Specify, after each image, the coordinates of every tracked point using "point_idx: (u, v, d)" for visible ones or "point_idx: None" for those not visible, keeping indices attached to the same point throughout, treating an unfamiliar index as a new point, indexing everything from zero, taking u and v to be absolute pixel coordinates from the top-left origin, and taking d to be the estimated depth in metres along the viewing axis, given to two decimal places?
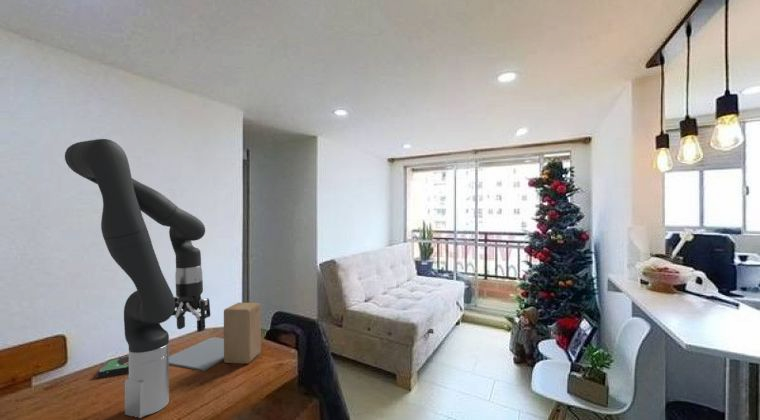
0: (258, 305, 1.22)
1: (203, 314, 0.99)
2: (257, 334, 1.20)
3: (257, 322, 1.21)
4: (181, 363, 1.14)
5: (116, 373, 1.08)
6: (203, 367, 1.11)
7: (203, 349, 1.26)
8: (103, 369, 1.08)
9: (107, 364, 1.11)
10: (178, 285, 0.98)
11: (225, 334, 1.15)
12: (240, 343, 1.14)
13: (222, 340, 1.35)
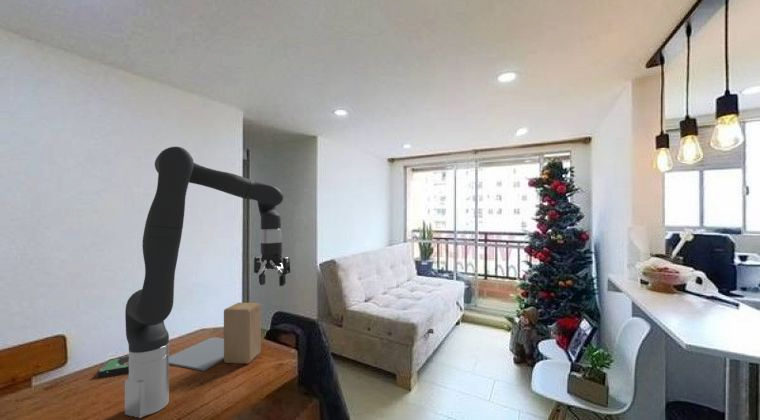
0: (258, 305, 1.22)
1: (285, 270, 1.12)
2: (257, 334, 1.20)
3: (258, 322, 1.21)
4: (181, 363, 1.14)
5: (116, 373, 1.08)
6: (203, 367, 1.11)
7: (203, 349, 1.26)
8: (103, 369, 1.08)
9: (107, 364, 1.12)
10: (264, 244, 1.12)
11: (225, 334, 1.15)
12: (240, 343, 1.14)
13: (222, 340, 1.35)
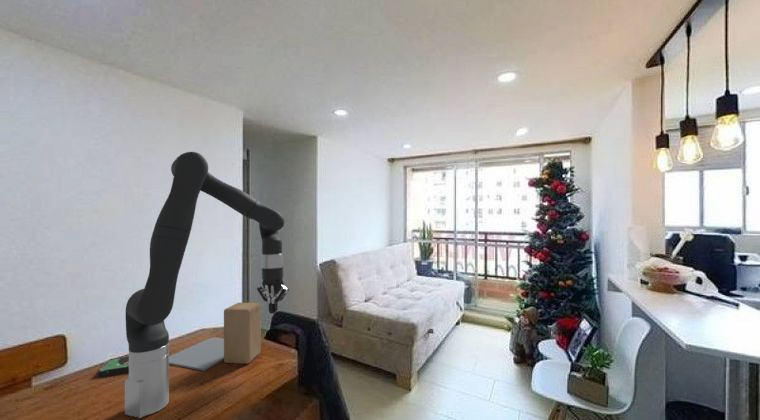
0: (258, 305, 1.22)
1: (278, 299, 1.13)
2: (257, 334, 1.20)
3: (258, 322, 1.21)
4: (181, 363, 1.14)
5: (116, 373, 1.08)
6: (203, 367, 1.11)
7: (203, 349, 1.26)
8: (103, 368, 1.08)
9: (108, 363, 1.12)
10: (265, 269, 1.12)
11: (225, 334, 1.15)
12: (240, 343, 1.14)
13: (222, 340, 1.35)
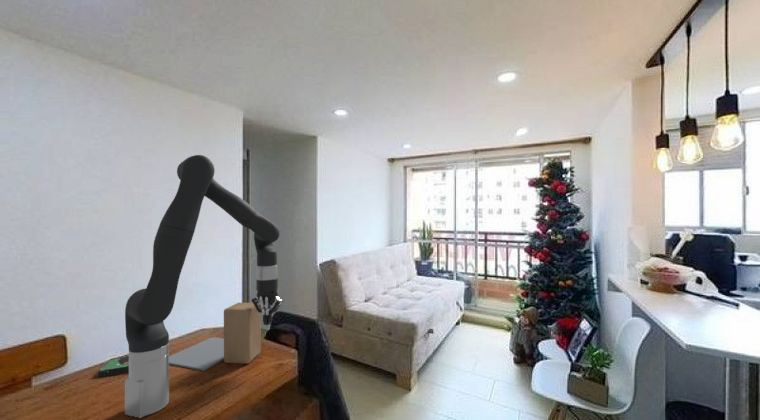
0: None
1: (273, 311, 1.14)
2: (257, 334, 1.20)
3: (258, 322, 1.21)
4: (181, 363, 1.14)
5: (116, 372, 1.08)
6: (203, 367, 1.11)
7: (203, 349, 1.26)
8: (104, 368, 1.08)
9: (108, 363, 1.12)
10: (259, 281, 1.13)
11: (225, 334, 1.15)
12: (240, 343, 1.14)
13: (222, 340, 1.35)
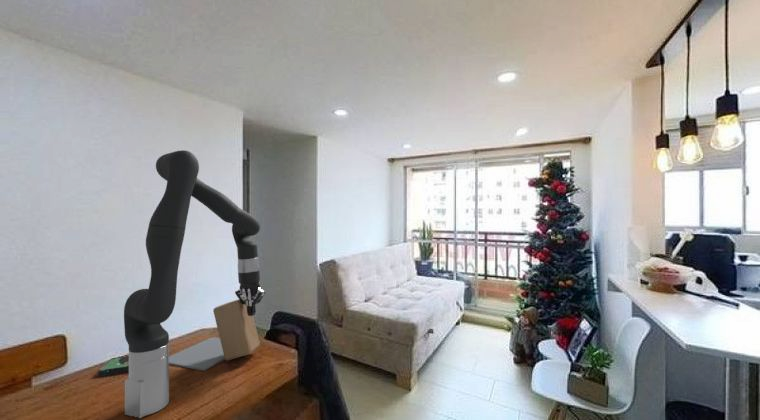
0: None
1: (255, 302, 1.17)
2: (252, 326, 1.22)
3: None
4: (181, 363, 1.14)
5: (116, 372, 1.08)
6: (203, 367, 1.11)
7: (203, 349, 1.26)
8: (104, 368, 1.09)
9: (108, 363, 1.12)
10: (241, 274, 1.15)
11: (220, 332, 1.16)
12: (237, 335, 1.15)
13: None
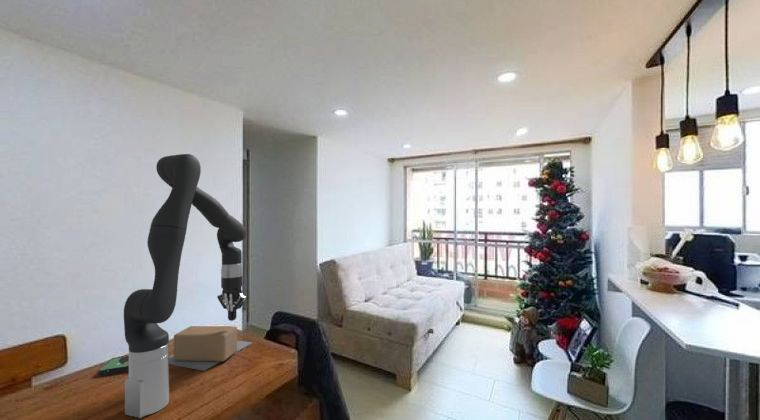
0: (188, 327, 1.24)
1: (237, 307, 1.19)
2: (213, 328, 1.22)
3: (202, 327, 1.23)
4: (181, 363, 1.14)
5: (116, 372, 1.09)
6: (203, 367, 1.11)
7: None
8: (104, 368, 1.09)
9: (109, 363, 1.13)
10: (224, 279, 1.18)
11: (196, 359, 1.15)
12: (203, 343, 1.15)
13: None
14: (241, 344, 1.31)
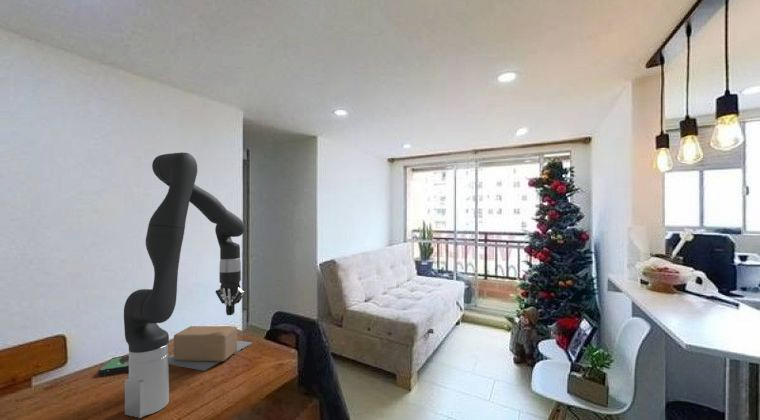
0: (188, 327, 1.24)
1: (235, 301, 1.19)
2: (213, 328, 1.22)
3: (202, 327, 1.23)
4: (181, 363, 1.14)
5: (116, 372, 1.09)
6: (203, 367, 1.11)
7: None
8: (104, 367, 1.09)
9: (109, 362, 1.13)
10: (222, 273, 1.18)
11: (196, 359, 1.15)
12: (203, 343, 1.15)
13: None
14: (241, 344, 1.31)
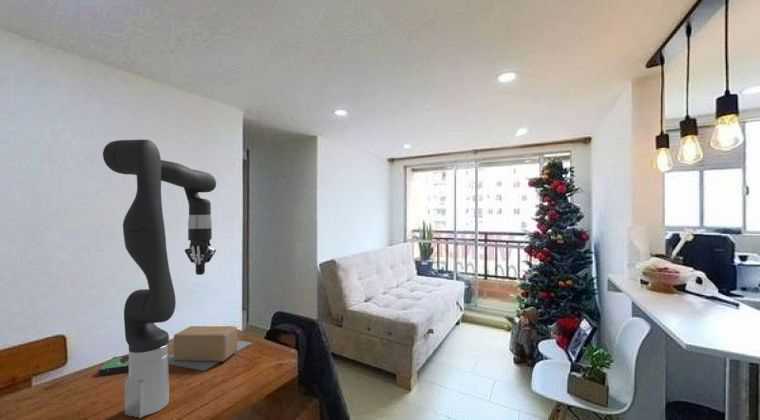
0: (188, 327, 1.24)
1: (204, 260, 1.13)
2: (213, 328, 1.22)
3: (202, 327, 1.23)
4: (181, 363, 1.14)
5: (116, 371, 1.09)
6: (203, 367, 1.11)
7: None
8: (105, 367, 1.09)
9: (110, 362, 1.13)
10: (190, 230, 1.12)
11: (196, 359, 1.15)
12: (203, 343, 1.15)
13: None
14: (241, 344, 1.31)
